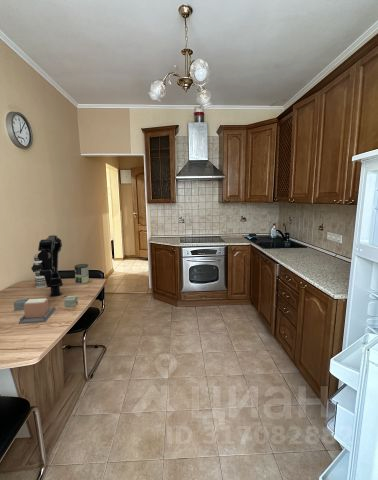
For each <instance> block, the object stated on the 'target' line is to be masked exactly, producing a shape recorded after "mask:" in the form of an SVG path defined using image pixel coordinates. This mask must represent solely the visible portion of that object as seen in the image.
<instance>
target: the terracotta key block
mask: <svg viewBox="0 0 378 480" xmlns="http://www.w3.org/2000/svg"><path fill="white" fill-rule="evenodd" d="M49 308H50V307H49V299H48V298H29V300H28V301H27V302H25V304H24V310H23V311H24V314H25V318H36V317H44V316H45V315H46V314H47V312H48V311H49Z"/></svg>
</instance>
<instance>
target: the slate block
mask: <svg viewBox="0 0 378 480" xmlns="http://www.w3.org/2000/svg"><path fill="white" fill-rule="evenodd" d="M29 299H30V298H27V297H26V298H17V300H15V301H14V302H13V310H14V312H15V311H24V304H25V302H27V301H28V300H29Z"/></svg>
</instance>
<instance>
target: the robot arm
mask: <svg viewBox="0 0 378 480" xmlns="http://www.w3.org/2000/svg"><path fill="white" fill-rule="evenodd" d="M62 247H63V242H62V239H61V238H59V237H58V235H53V234H52V235H48V237H47V238H45V239H40V241H39V242H38V247H37V250H38V252H39V253H37V254H38V259H39V260H40V261H42V262H41V264H39V265H36V264H35V265H33V264H32V266H31V271H32V272H33V273H35V271H37V270H40V269H41V271H40V272H39V275H43V276H44V277H45V280H46V283H47V288H49V289H50V293H49V297H50V298H51V297H57V296H61V295H62V293H61V289H60V287H63V280H62V278H61V276H60V274H59V254H60V252H61V251H62Z"/></svg>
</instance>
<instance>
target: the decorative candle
mask: <svg viewBox="0 0 378 480" xmlns="http://www.w3.org/2000/svg"><path fill="white" fill-rule="evenodd" d="M38 254H39V253H37V254H35V255H34V256H33V264H32V266H33V265H35V264H36V265H39V264H41V262H42V261H40V260H39V259H38ZM40 271H41V269H40V270H37V271H35V272H34V274H35V276H34V281H35V284H34V285H35V288H36V289H41V288H46V286H47V283H46V280H45V277H44V276H43V275H39V272H40Z"/></svg>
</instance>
